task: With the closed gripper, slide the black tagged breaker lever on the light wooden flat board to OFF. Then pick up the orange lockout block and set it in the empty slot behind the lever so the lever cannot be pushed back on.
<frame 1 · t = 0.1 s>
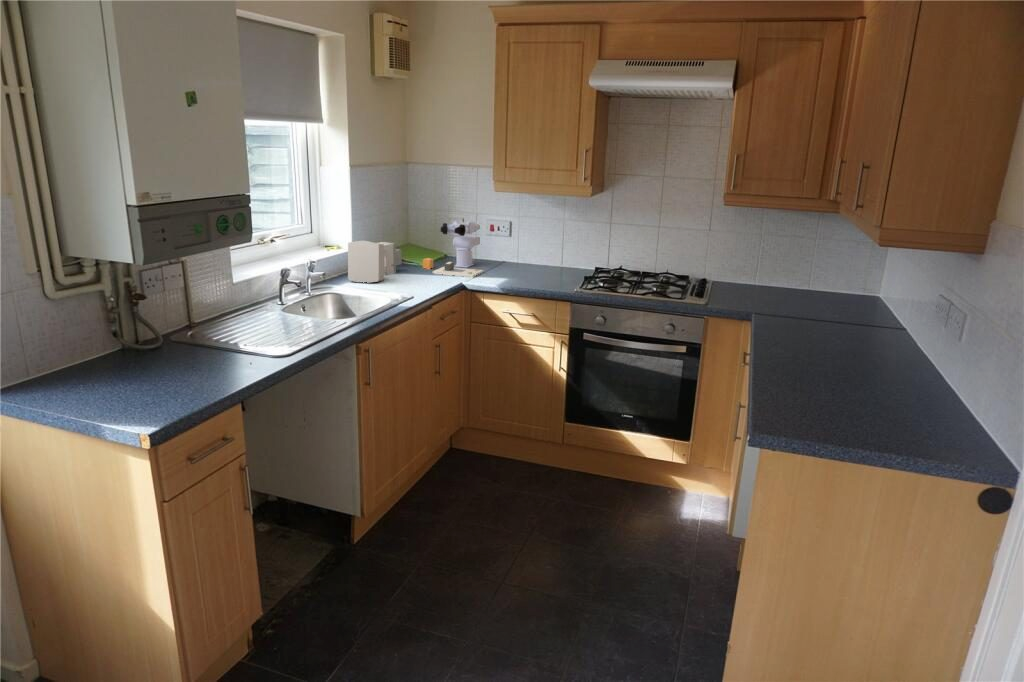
hand: (448, 230, 341), 22 cm above the worktop, tool horizontal, fingers open, 7 cm apart
light wooden flat board: (458, 273, 347), on the worktop
electrical switch box: (368, 280, 327), on the worktop
circuit breaker: (389, 272, 345), on the worktop
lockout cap: (428, 268, 357), on the worktop
breaker lever: (449, 265, 348), point 3 cm above the worktop, slide at 0.0 cm
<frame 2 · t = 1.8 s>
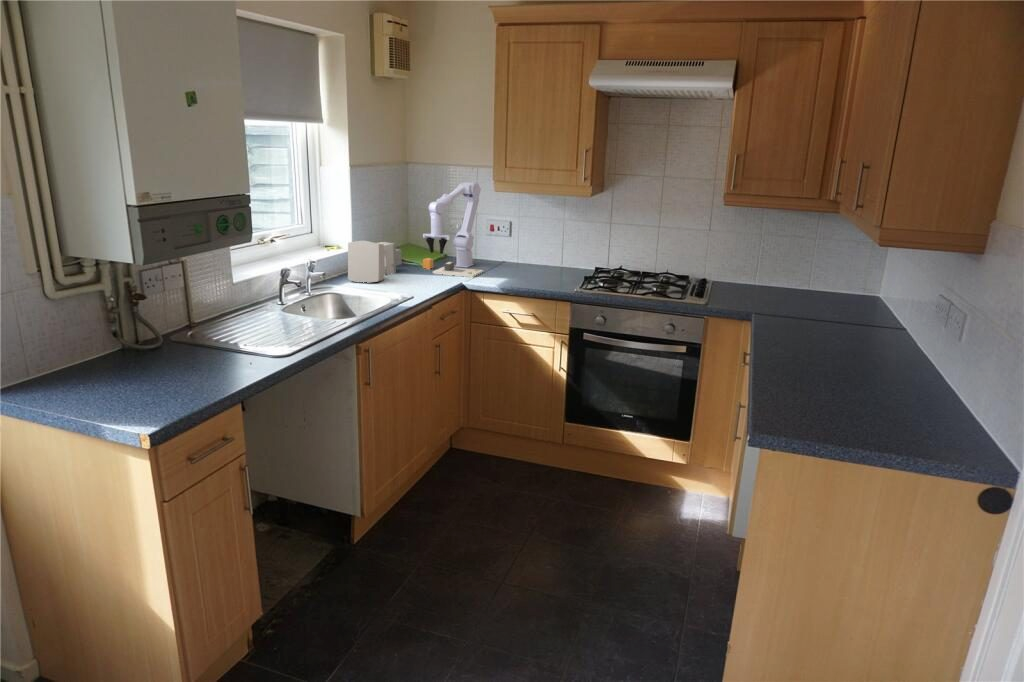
hand: (436, 252, 348), 9 cm above the worktop, tool pointing down, fingers open, 5 cm apart
nothing on the worktop moved.
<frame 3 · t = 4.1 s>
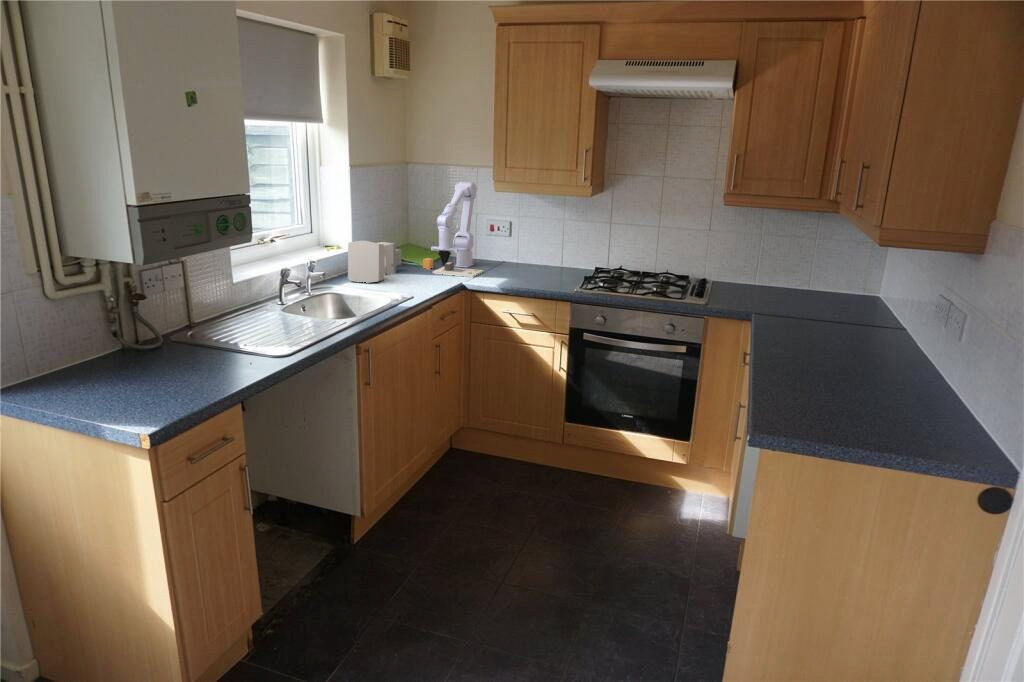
hand: (444, 265, 349), 3 cm above the worktop, tool pointing down, fingers closed
breaker lever: (449, 265, 348), point 3 cm above the worktop, slide at 0.0 cm, touching gripper
everything else where it was.
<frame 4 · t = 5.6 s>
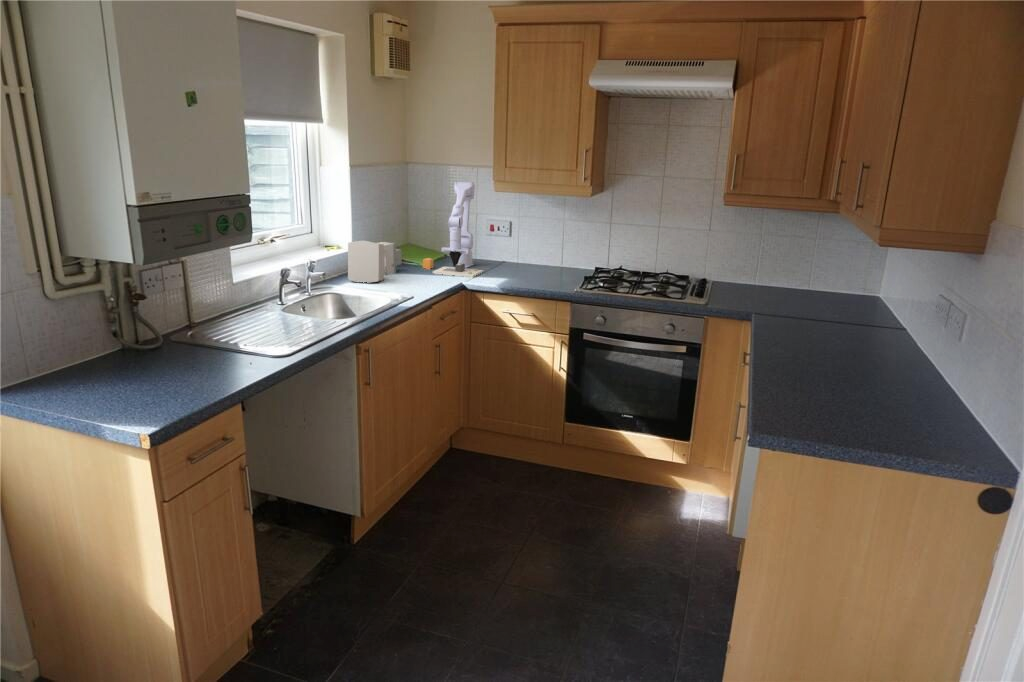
hand: (455, 266, 347), 3 cm above the worktop, tool pointing down, fingers closed
breaker lever: (460, 266, 346), point 3 cm above the worktop, slide at 6.0 cm, touching gripper
everything else where it was.
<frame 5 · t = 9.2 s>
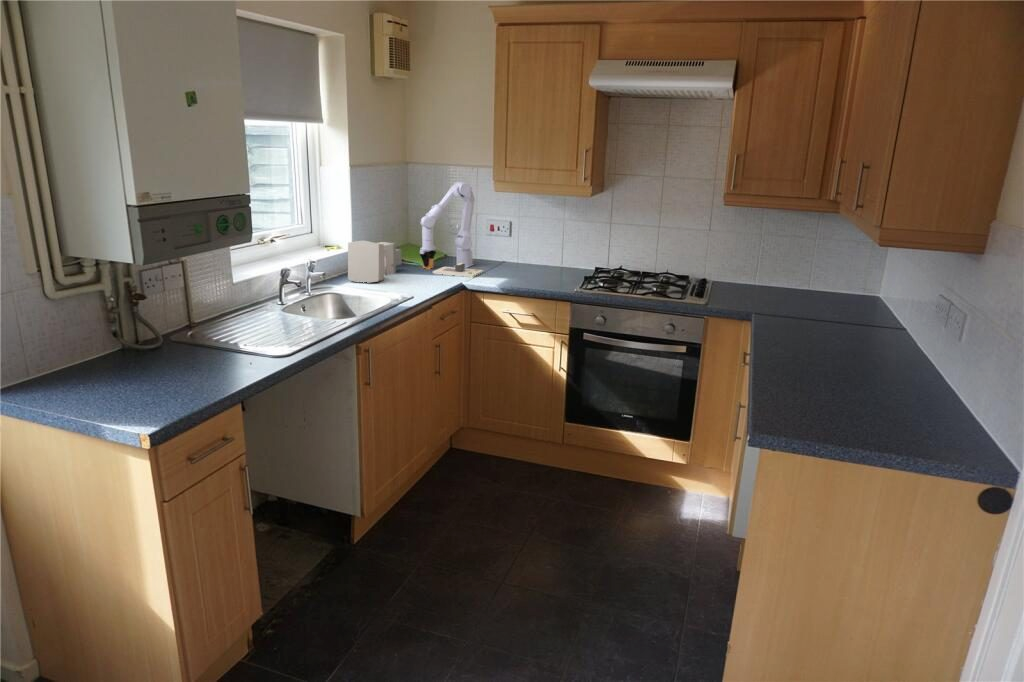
hand: (428, 265, 356), 1 cm above the worktop, tool pointing down, fingers closed on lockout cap, 4 cm apart
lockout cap: (428, 268, 357), on the worktop, touching gripper
breaker lever: (460, 266, 346), point 3 cm above the worktop, slide at 6.0 cm
everything else where it was.
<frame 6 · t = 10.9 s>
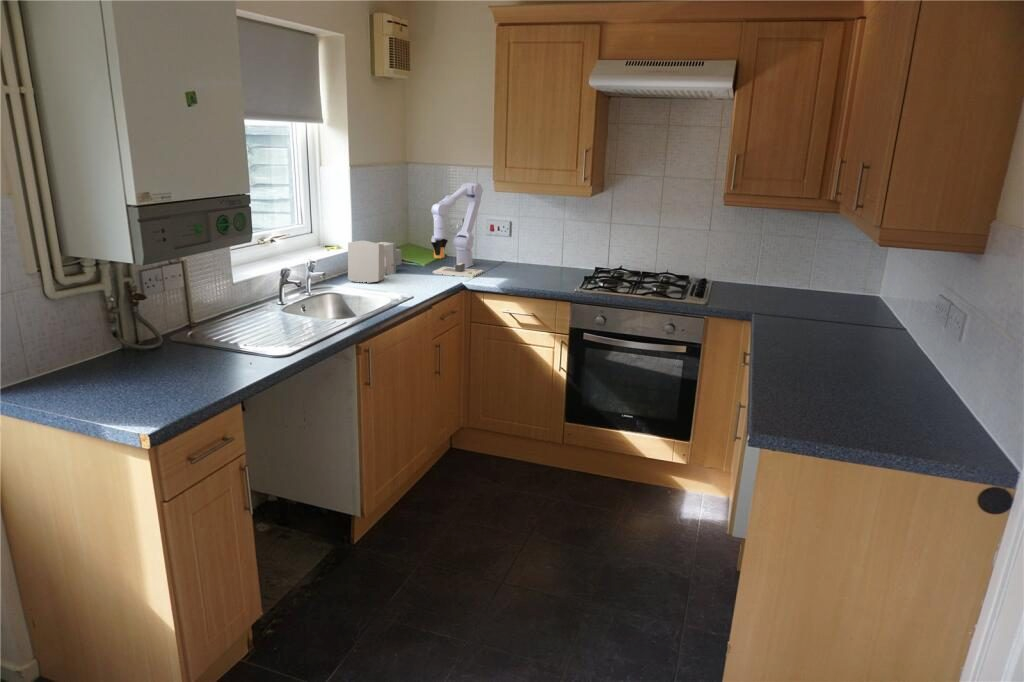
hand: (439, 254, 350), 8 cm above the worktop, tool pointing down, fingers closed on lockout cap, 4 cm apart
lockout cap: (439, 257, 351), point 7 cm above the worktop, touching gripper
everything else where it was.
when the fingers open (4 cm above the worktop, at t = 12.6 s): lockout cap stays where it is, resting on light wooden flat board.
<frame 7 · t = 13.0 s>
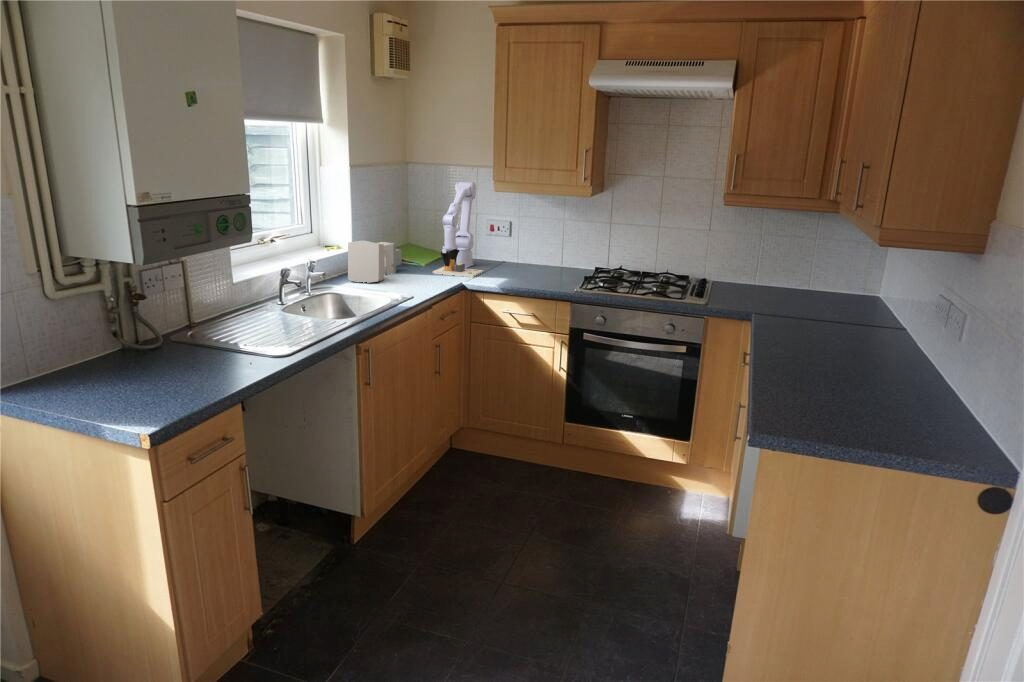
hand: (450, 264, 348), 4 cm above the worktop, tool pointing down, fingers open, 7 cm apart
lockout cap: (449, 269, 348), point 1 cm above the worktop, touching light wooden flat board
everything else where it was.
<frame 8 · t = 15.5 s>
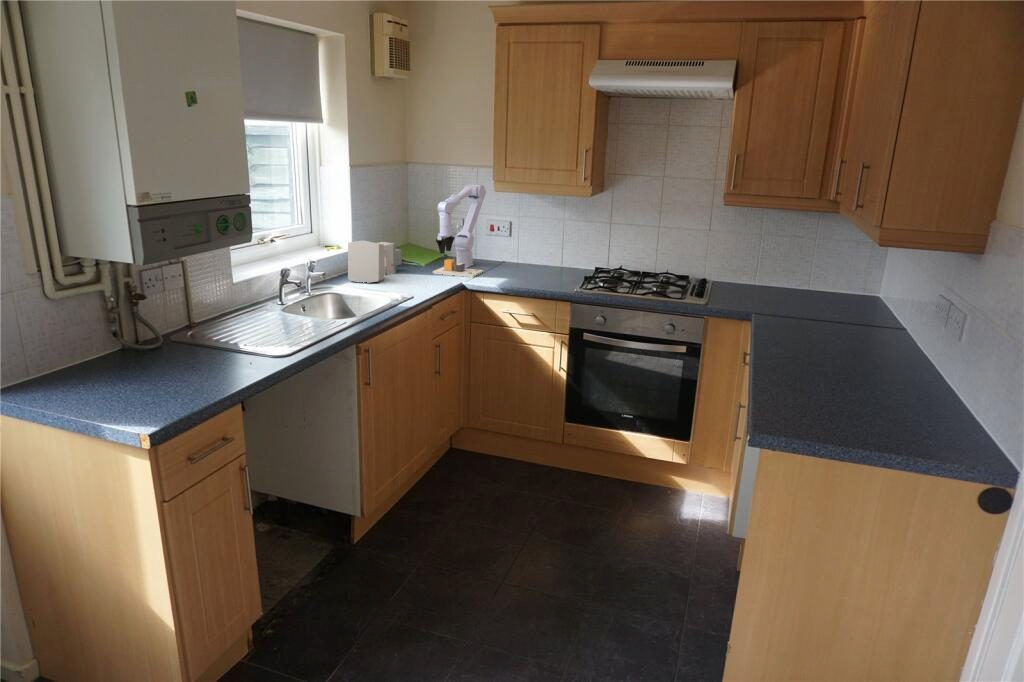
hand: (445, 252, 351), 9 cm above the worktop, tool pointing down, fingers open, 7 cm apart
nothing on the worktop moved.
at the end: breaker lever slide at 6.0 cm; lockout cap 0.3 cm from the target spot on the light wooden flat board, point 1.3 cm above the light wooden flat board's base; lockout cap tilted 0° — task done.
